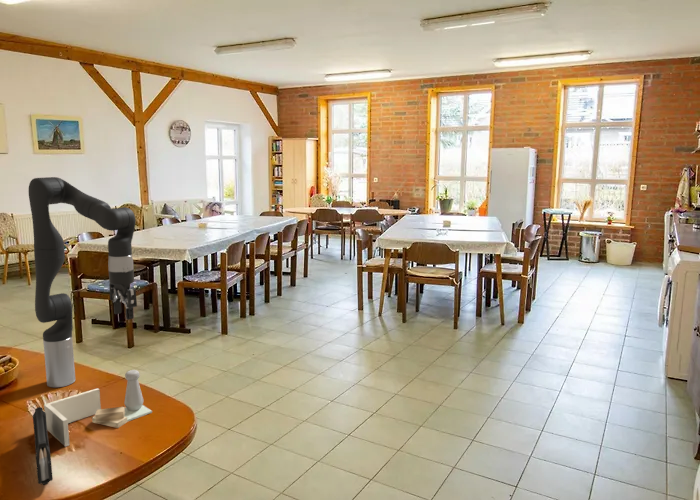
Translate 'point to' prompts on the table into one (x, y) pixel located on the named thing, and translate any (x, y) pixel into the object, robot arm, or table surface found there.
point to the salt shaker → (133, 391)
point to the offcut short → (110, 413)
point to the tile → (136, 413)
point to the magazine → (42, 447)
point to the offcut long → (111, 422)
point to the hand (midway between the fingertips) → (123, 316)
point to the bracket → (70, 412)
